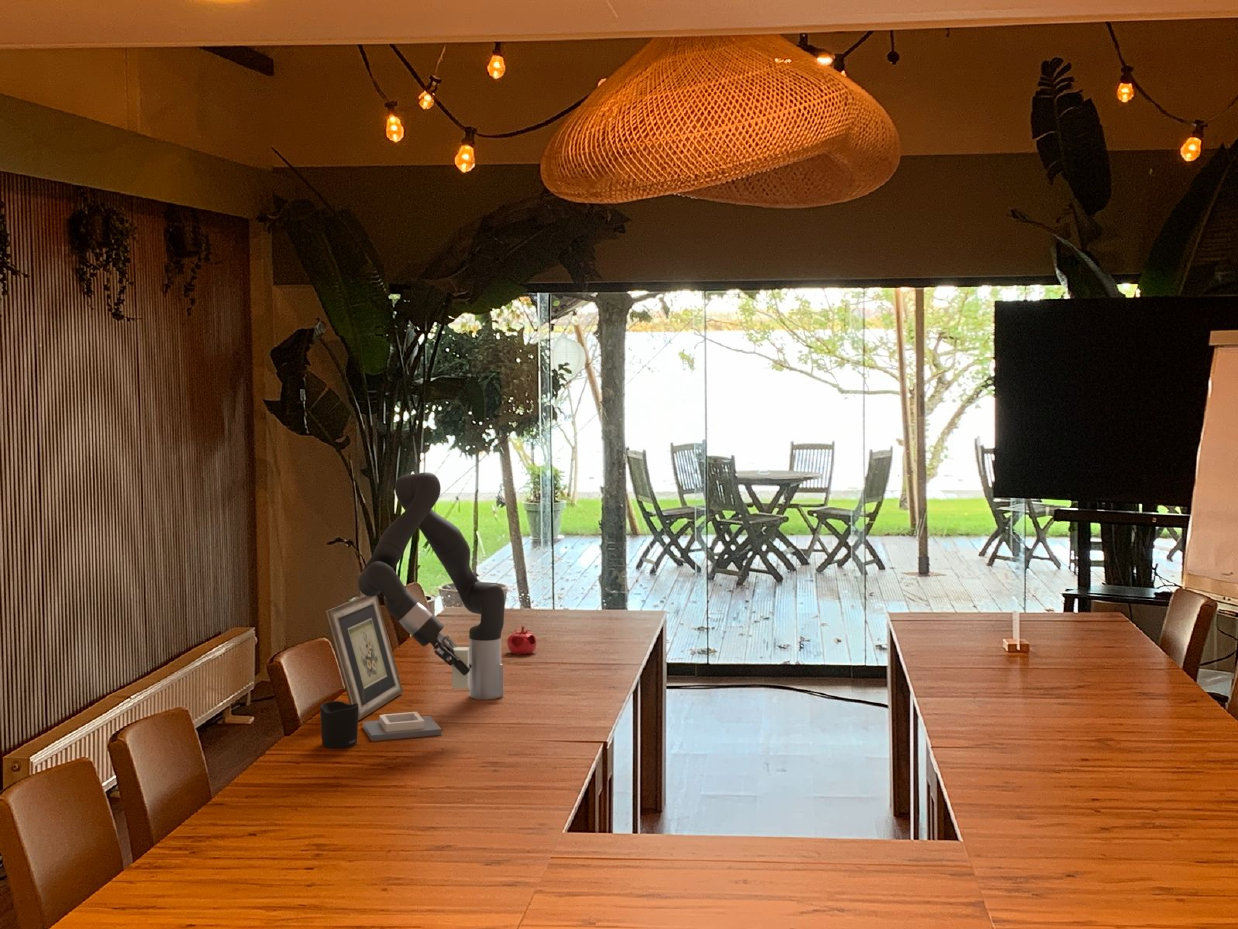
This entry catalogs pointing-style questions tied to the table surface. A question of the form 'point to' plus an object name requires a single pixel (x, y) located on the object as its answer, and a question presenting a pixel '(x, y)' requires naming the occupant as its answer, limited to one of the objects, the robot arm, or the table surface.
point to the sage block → (457, 677)
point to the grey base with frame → (401, 726)
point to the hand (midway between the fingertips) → (468, 670)
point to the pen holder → (339, 724)
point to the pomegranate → (521, 642)
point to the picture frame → (364, 654)
